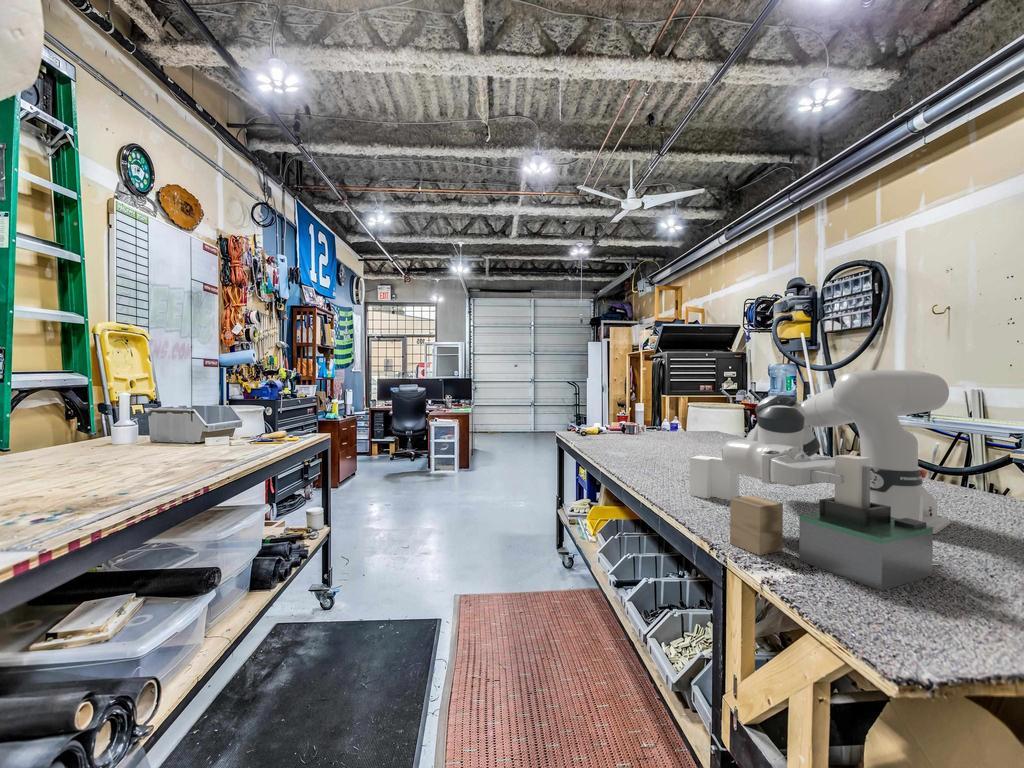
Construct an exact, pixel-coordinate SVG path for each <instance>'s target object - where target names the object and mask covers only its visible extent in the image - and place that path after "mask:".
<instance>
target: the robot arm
mask: <svg viewBox="0 0 1024 768" xmlns="http://www.w3.org/2000/svg"><path fill="white" fill-rule="evenodd" d="M949 388H950V387H949V386H948V383H947V382H946V380H945V379H944V378H943V377H941V376H940V375H938V374H935V373H934V374H933V373H931V372H925V371H919V370H896V369H895V370H891V369H890V370H889V369H888V370H886V369H883V370H882V369H880V370H879V369H875V370H874V369H863V370H856V371H852V372H847V373H842V374H841V375H840V376H838V377H837V379H836V381H835V382H834V384H833V387H831V388H829V389H826V390H823V391H820V392H818V393H815V394H814V395H812V396H810V397H808V398H807V399H805V400H803V401H802V402H797V398H796V397H790V396H788V395H783V394H776V395H771V396H770V395H769V396H767V397H765V398H763V399H762V400H760V402H759V403H758V404H757V405H756V406H755V409H754V411H755V414H756V421H757V423H756V424H755V426H754V428H753V429H752V430H750V431H749V432H748V434H747V435H746V439H732V440H728V441H727V442H725V444H724V445H723V448H722V453H721V458H722V461H723V464H724V466H725V467H726V468H727V469H729V470H731V471H733V472H735V473H738V474H740V475H742V476H745V477H749V478H752V479H753V478H754V479H759V480H760V482H761V483H764V484H768V485H782V486H787V487H788V486H789V487H797V486H798V487H799V486H806V485H814V484H820V483H821V484H831V485H832V484H833V485H835V484H837V485H839V484H843V483H844V476H843V475H840V474H835V457H827V456H825V457H823V456H818V457H813V456H814V455H815V454H816V453H818V452H819V450H820V448H821V444H820V441H819V439H818V436H815V434H814V432H813V430H812V429H811V427H813V428H833V427H840V426H844V425H849V424H852V423H854V424H855V426H856V428H857V431H858V436H859V444H860V448H859V449H860V457H868V458H870V502H872V503H876V504H881V505H885V506H890V507H891V517H894V518H898V519H903V518H910V519H914V520H918V521H922V522H926V525H927V526H931V527H933V535H935V534H936V535H937V534H938V533H939V532H941V531H942V530H944V529H945V528H947V527H948V526H950V525H951V520H950V519H948V518H946V517H943V516H940V515H938V501H937V499H936V498H935V497H934V496H933V495H932V494H931V493H930V492H929V491H928V490H927V489H926V488H925V487H924V486H923V485H924V484H923V479H926V478H927V476H928V472H927V470H925V469H919V441H918V438H917V437H916V436H915V434H913V433H911V432H910V431H908V430H907V429H905V428H904V427H903V426H902V425H901V422H900V419H899V418H898V417H902V416H908V415H913V414H914V415H915V414H920V413H926V412H931V411H936V410H939V409H941V408H942V407H944V406H945V405H946V403H947V401H948V400H949V396H950V389H949ZM810 426H811V427H810Z"/></svg>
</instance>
